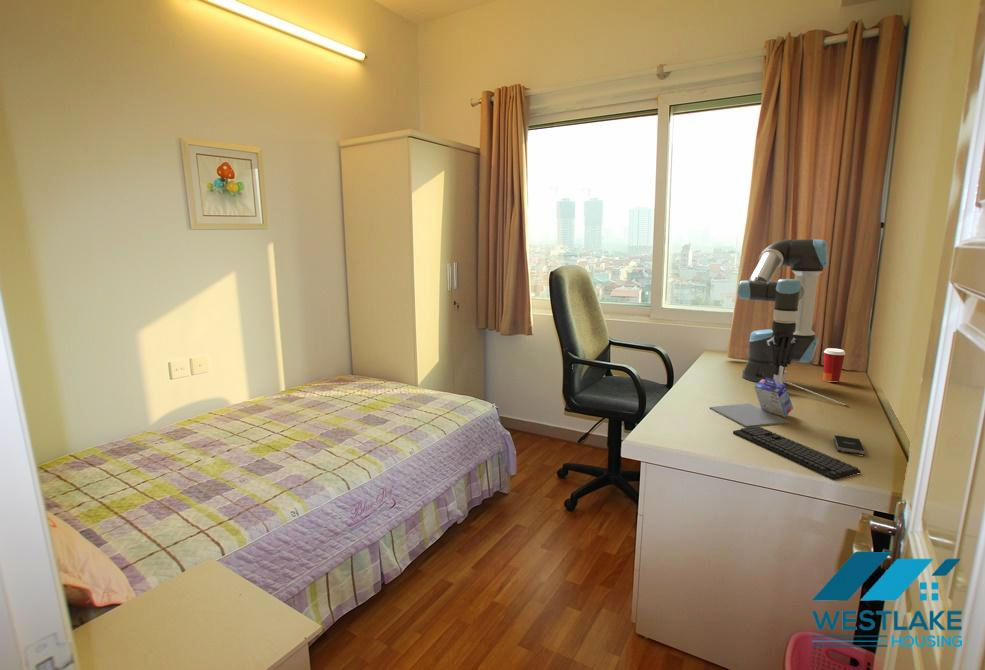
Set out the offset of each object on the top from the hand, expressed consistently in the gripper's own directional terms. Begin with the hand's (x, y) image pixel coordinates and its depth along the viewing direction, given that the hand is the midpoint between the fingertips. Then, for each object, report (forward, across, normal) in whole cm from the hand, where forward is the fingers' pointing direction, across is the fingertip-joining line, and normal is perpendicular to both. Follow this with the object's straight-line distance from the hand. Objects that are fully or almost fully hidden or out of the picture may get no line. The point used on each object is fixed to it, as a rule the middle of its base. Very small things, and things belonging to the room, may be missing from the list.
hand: (777, 382), depth 185 cm
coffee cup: (+12, -57, -28) cm, 64 cm away
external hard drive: (+13, +1, +32) cm, 34 cm away
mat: (+12, +12, 0) cm, 17 cm away
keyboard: (+13, +21, +30) cm, 39 cm away
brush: (+12, -28, -11) cm, 32 cm away
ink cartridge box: (+11, -2, 0) cm, 11 cm away
